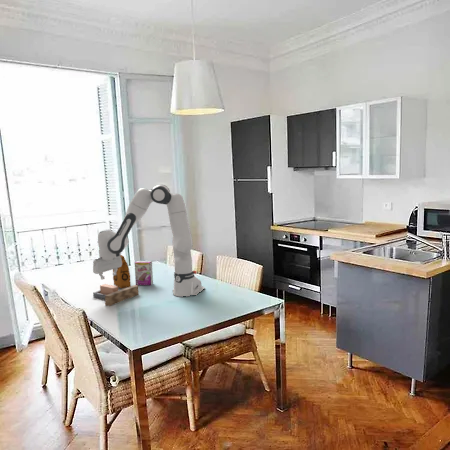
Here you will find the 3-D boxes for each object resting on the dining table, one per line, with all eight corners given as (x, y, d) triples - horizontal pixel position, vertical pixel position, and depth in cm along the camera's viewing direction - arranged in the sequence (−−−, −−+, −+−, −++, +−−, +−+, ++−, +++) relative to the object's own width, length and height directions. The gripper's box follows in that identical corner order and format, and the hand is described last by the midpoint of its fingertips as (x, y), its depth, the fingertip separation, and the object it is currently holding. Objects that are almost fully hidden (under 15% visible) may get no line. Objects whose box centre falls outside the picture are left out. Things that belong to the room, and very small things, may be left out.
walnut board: (135, 293, 249) (134, 284, 248) (138, 294, 247) (138, 285, 247) (105, 305, 229) (104, 295, 228) (109, 306, 227) (108, 296, 227)
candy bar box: (135, 285, 267) (134, 262, 265) (137, 283, 272) (136, 260, 270) (151, 285, 266) (150, 262, 264) (153, 283, 271) (152, 260, 269)
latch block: (105, 292, 250) (105, 283, 249) (118, 295, 243) (117, 286, 242) (100, 294, 246) (99, 285, 245) (113, 297, 240) (112, 288, 239)
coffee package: (118, 289, 259) (116, 257, 256) (112, 285, 269) (110, 254, 266) (132, 286, 265) (131, 255, 262) (125, 282, 275) (124, 252, 271)
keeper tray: (107, 292, 254) (106, 287, 253) (125, 296, 245) (125, 291, 244) (93, 297, 245) (93, 292, 244) (111, 301, 236) (111, 296, 235)
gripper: (96, 259, 231) (98, 282, 233) (122, 252, 248) (124, 273, 250) (89, 258, 234) (91, 281, 236) (115, 251, 251) (117, 272, 253)
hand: (108, 277), depth 243 cm, fingers open, 8 cm apart
